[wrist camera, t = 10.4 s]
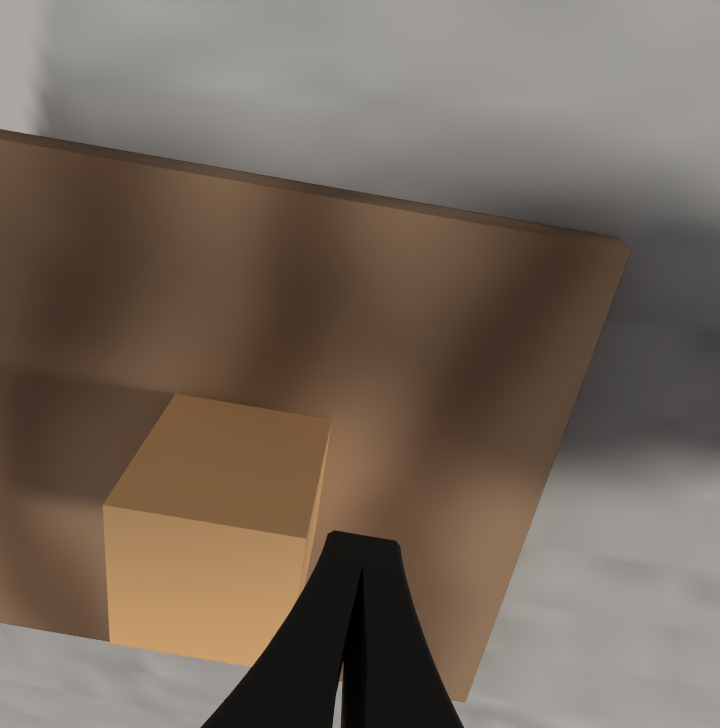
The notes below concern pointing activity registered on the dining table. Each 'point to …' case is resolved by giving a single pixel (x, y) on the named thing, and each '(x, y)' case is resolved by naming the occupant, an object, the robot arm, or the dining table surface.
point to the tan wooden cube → (213, 529)
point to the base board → (284, 364)
